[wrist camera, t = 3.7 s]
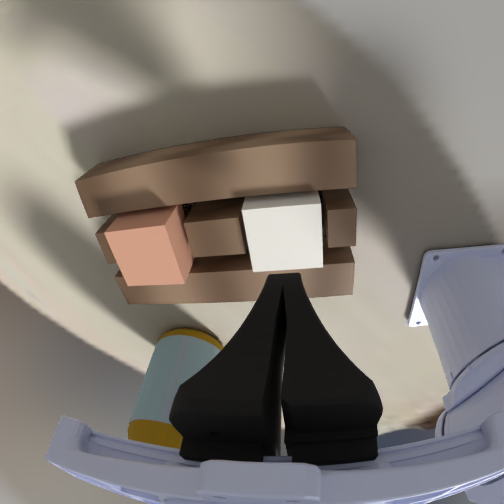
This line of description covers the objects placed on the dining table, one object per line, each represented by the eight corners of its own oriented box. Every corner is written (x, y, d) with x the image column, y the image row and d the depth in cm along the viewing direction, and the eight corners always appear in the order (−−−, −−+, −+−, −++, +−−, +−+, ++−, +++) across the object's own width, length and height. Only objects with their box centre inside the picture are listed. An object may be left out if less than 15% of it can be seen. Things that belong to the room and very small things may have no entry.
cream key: (315, 180, 17) (320, 203, 15) (318, 238, 20) (323, 267, 17) (247, 187, 18) (241, 210, 16) (257, 243, 20) (253, 272, 18)
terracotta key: (180, 200, 18) (164, 225, 16) (196, 254, 20) (184, 283, 18) (124, 208, 19) (104, 232, 16) (143, 258, 21) (127, 286, 19)
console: (344, 126, 16) (355, 139, 14) (345, 266, 22) (352, 294, 19) (98, 164, 19) (74, 181, 16) (141, 278, 24) (128, 303, 22)
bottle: (152, 320, 27) (98, 470, 15) (226, 328, 27) (195, 496, 14) (167, 363, 31) (130, 490, 19) (230, 370, 31) (208, 507, 18)
